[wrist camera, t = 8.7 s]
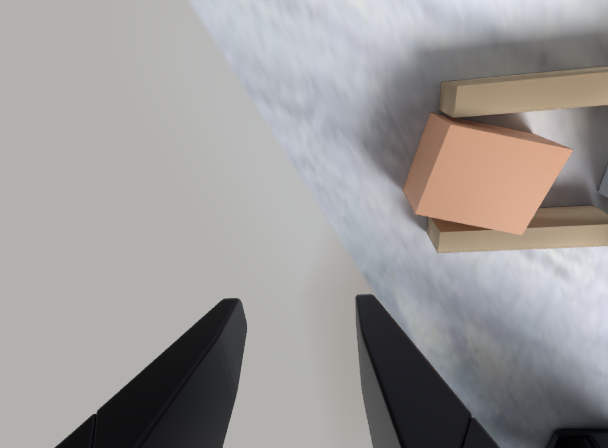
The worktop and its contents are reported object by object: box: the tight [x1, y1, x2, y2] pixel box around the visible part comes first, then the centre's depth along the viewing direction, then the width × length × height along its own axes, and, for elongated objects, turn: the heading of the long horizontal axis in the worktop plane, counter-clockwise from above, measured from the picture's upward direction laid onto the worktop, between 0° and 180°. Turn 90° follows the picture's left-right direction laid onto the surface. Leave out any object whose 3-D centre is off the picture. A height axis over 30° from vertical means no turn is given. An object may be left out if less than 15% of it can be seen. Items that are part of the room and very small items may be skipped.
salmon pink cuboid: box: [403, 113, 573, 235], centre depth 15 cm, size 4×5×3 cm
